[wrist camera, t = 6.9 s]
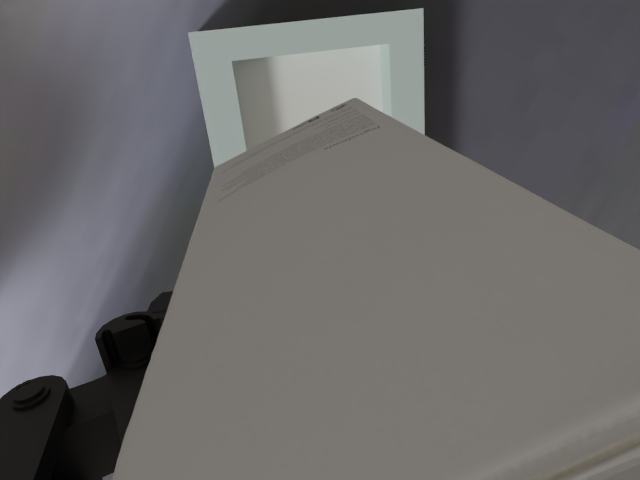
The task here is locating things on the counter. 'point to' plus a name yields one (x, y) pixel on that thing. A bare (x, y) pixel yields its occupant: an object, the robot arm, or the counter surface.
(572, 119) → the counter surface
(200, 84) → the square shallow tray
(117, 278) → the counter surface
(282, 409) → the skincare box
